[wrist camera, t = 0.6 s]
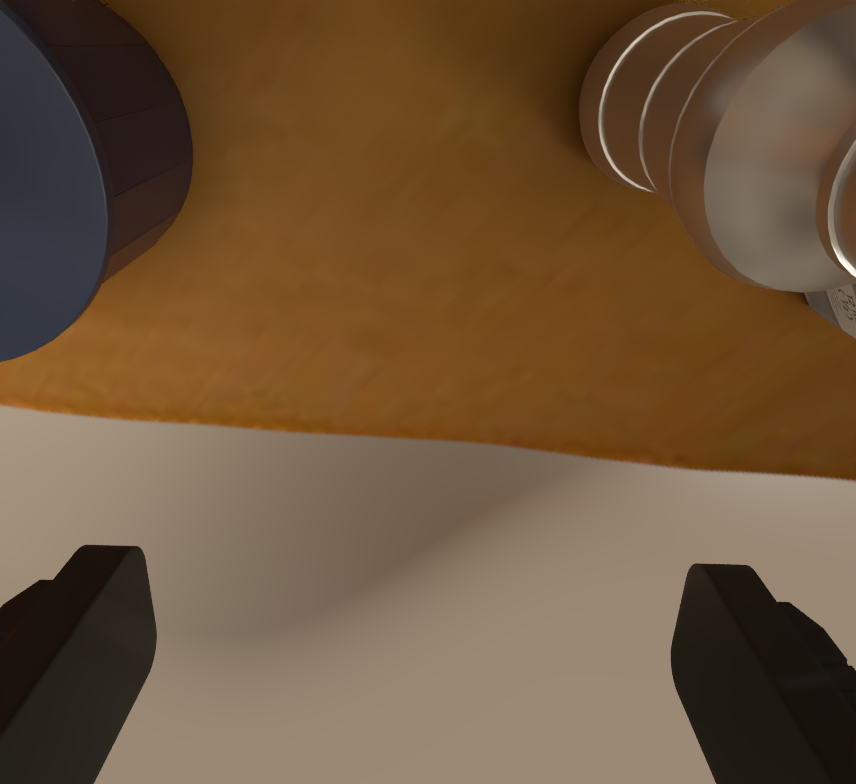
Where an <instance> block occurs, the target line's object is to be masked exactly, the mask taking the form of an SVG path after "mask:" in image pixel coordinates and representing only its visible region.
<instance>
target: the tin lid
mask: <svg viewBox="0 0 856 784" xmlns="http://www.w3.org/2000/svg"><path fill="white" fill-rule="evenodd" d="M114 232H115V203H114V191H113V185H112V180H111V175H110V170H109V165H108V161H107V158H106V155H105V152H104V149H103V146H102V142H101V139H100V136H99V134H98V132H97V129H96V127H95V125H94V123H93V120H92V118H91V116H90V114H89V111H88V109H87V107H86V105H85V103H84V102H83V100H82V98H81V96H80V95H79V93H78V91H77V89H76V88H75V86H74V84H73V83H72V81H71V79H70V77H69V76H68V75H67V73H66V72H65V71H64V69H63V68H62V66H61V65H60V64H59V62H58V61H57V59H56V58H55V57H54V55H53V54H52V52H51V51H50V50H49V49H48V47H47V46H46V45H45V44H44V43H43V42H42V41H41V40H40V38H39V37H38V36H37V35H36V34H35V33H34V32H33V30H32V29H31V28H30V27H29V26H28V25H27V24H26V23H25V22H24V21H23V20H22V19H21V18H20V17H19V16H18V15H17V14H16V13H15V12H14V11H13V10H11V9H10V8H9V7H8V6H7V5H6V4H5V3H4V2H3V1H2V0H0V362H2V361H6V360H11V359H15V358H17V357H20V356H23V355H25V354H28V353H30V352H33V351H35V350H37V349H39V348H40V347H42V346H44V345H45V344H47V343H49V342H51V341H52V340H54V339H55V338H56V337H58V336H59V335H60V334H61V333H63V332H64V331H65V330H66V329H67V328H69V327H70V326H71V325H72V324H73V323H75V322H76V321H77V319H78V318H79V317H80V316H81V315H82V314H83V313H84V311H85V310H86V309H87V308H88V307H89V305H90V304H91V302H92V300H93V299H94V297H95V295H96V294H97V292H98V290H99V289H100V287H101V284H102V282H103V279H104V277H105V274H106V272H107V269H108V267H109V262H110V258H111V253H112V249H113V245H114Z"/></svg>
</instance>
